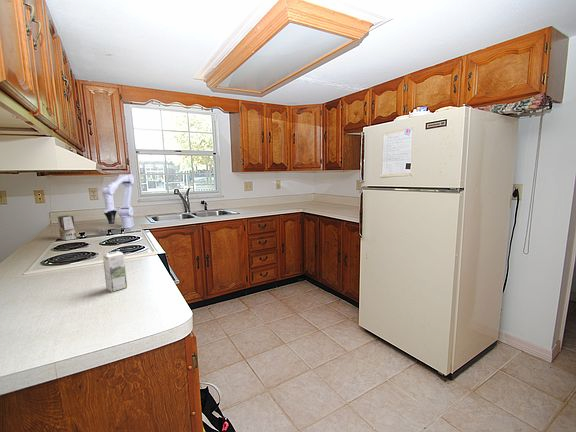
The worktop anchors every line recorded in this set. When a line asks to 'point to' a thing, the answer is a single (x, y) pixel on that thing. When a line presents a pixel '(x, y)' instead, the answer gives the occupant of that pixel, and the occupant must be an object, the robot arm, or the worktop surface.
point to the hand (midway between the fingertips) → (111, 220)
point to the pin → (112, 220)
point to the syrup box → (115, 271)
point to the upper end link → (108, 229)
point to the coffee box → (66, 227)
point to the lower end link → (119, 231)
